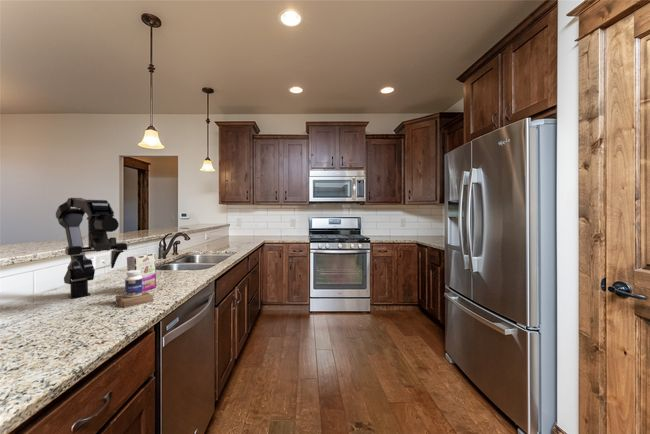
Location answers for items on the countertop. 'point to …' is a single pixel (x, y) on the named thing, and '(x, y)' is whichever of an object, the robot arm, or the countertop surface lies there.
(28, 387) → the countertop surface
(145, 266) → the candy bar box
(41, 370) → the countertop surface
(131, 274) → the pill bottle
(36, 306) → the countertop surface
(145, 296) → the walnut block
